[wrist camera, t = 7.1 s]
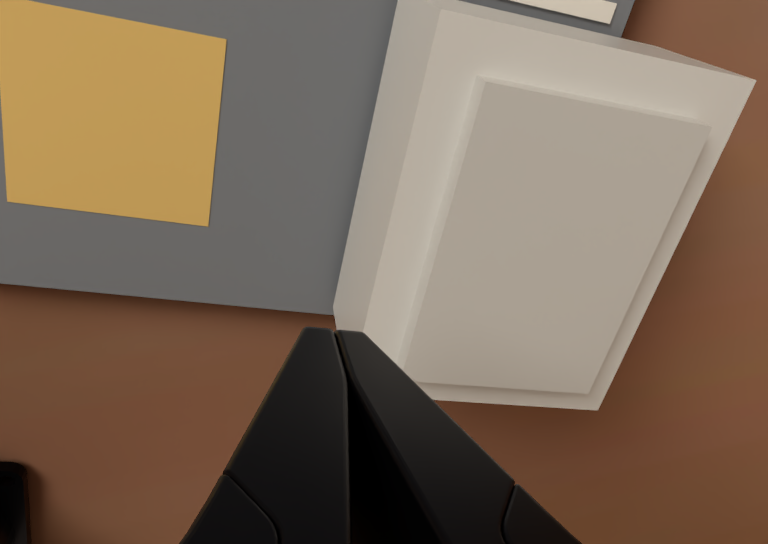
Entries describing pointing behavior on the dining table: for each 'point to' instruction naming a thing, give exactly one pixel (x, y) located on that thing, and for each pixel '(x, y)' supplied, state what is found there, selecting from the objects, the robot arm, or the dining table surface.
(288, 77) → the board
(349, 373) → the robot arm
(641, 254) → the cover
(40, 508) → the dining table surface
